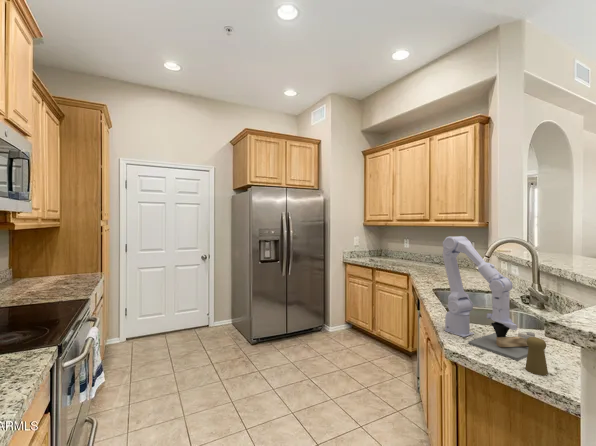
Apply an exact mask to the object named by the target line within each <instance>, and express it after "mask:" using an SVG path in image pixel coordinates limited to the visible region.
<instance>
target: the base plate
mask: <svg viewBox="0 0 596 446" xmlns="http://www.w3.org/2000/svg"><path fill="white" fill-rule="evenodd" d="M526 335H530V336H534V337H536V336H535V335H536V334H535V332H530V331H527V332H526ZM496 337H497V336H496V332H494V333H490V334H487V335H484V336H481V337H477V338H475V339H472V340H469V341H468V342H467V344H468V345H471V346H473V347H476V348H479V349H483V350H485V351H488V352H489V353H490V352H491V353H493V354H496V355H499V356H502V357H505V358H508V359H511V360H514V361H515V362H517V361H521V360H522V359H526V358H527V355H528V348H529V347H528V346H521V347H500V346H498V345H497V344H496ZM506 337H508V336H507V335H506Z"/></svg>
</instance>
